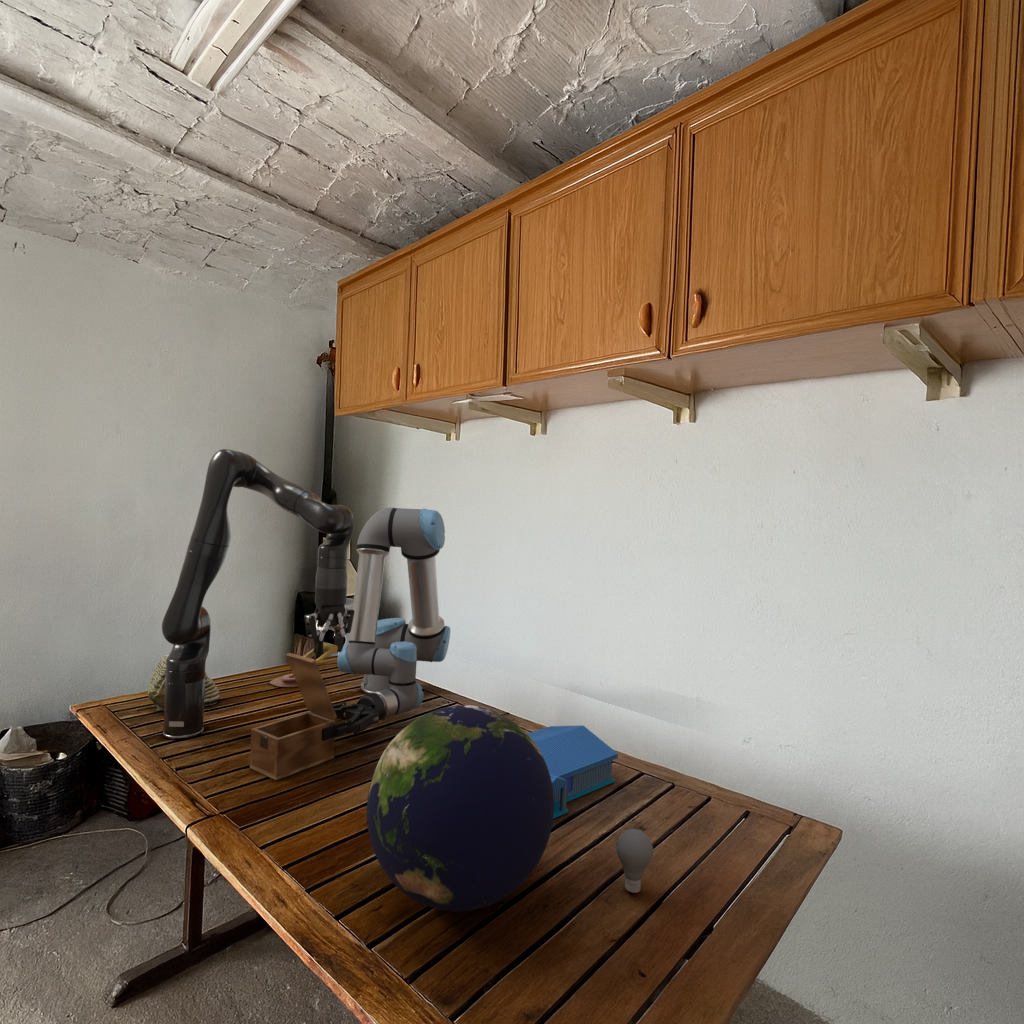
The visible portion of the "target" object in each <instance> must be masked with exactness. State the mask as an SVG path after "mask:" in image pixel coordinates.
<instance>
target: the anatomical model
mask: <svg viewBox="0 0 1024 1024" xmlns="http://www.w3.org/2000/svg"><path fill="white" fill-rule="evenodd" d="M269 684H270V685H272V686H275V687H279V688H295V687H296V688H298V685H297V683H296V680H295V678H294V675H293V672H292V673H289V674H285V675H282V676H279V677H277V678H274V679H272V680H269Z"/></svg>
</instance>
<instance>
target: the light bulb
mask: <svg viewBox="0 0 1024 1024" xmlns="http://www.w3.org/2000/svg"><path fill="white" fill-rule="evenodd" d="M615 849H616V854H617V857H618V859H619V861H620V863H621V865H622V867H623V873H624V874H623V875H624V876H625V878H624V888H625V890H627V891H628V892H630V893H634V894H635V893H639V892H640V891H641V889H642V887H641V886H642V879H643V877H644V875H645V871H646V868H647V867H648V866H649V864H650V863H651V861H652V859H653V855H654V847H653V843H652V841H651V838H649V836H648V835H647V834H646V833H645V832H643V831H642V830H641V829H636V828H629V829H627V830H625V831H623V832H622V833H621V834H620V835H619V837H618V839H617V841H616V847H615Z"/></svg>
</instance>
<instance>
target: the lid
mask: <svg viewBox="0 0 1024 1024" xmlns="http://www.w3.org/2000/svg"><path fill="white" fill-rule="evenodd" d="M337 650H338V647H337V646H336V645H334V643H329V642H325V641H323V655H322V656H318V657H317V658H316V659H314V658H310V657H311V656H312V655H313V654H315V653H314V648H312V649H311V650H310V651H308V652H307V653H306V654H304V655H300V654H297V653H296V654H295V653H291V652H287V653H286V654H285V657H286V660H287V662H288V665H289V668H290V670H291V672H292V673H293V675H294V678H295V680H296V683H297V685H298V686H297V688H298V690H299V692H300V695H301V698H302V700H303V703H304V705H305V708H306V710H307V712H313V713H316V714H319V715H322V716H325V717H328V718H330V719H332V720H334V721H335V720H337V719H336V718H337V716H336V713H335V710H334V708H333V705H334V704H333V703H332V700H331V698H330V695H329V692H328V690H327V687H326V685H325V682H324V680H323V677H322V674H321V671H320V668H319V666H318V664H319V663H320V662H322V661H323V660H324V659H326V658H327V657H329V656H330V655H331V654H336V653H338V652H337Z"/></svg>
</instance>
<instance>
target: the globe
mask: <svg viewBox="0 0 1024 1024" xmlns="http://www.w3.org/2000/svg"><path fill="white" fill-rule="evenodd" d="M527 733H528V732H526V731H525V730H524V729H523V728H522V727H521V726H520V725H518V723H516V722H514V721H513V720H512V719H510V718H508V717H507V716H505V715H503V714H501V713H499V712H497V711H494V710H493V709H489V708H485V707H482V706H477V705H469V704H468V705H467V704H465V705H452V706H446V707H442V708H438V709H435V710H432V711H429V712H428V713H425V714H423V715H422V716H419V717H417V718H416V719H415V720H413V721H411V722H409V724H407V725H406V726H405V727H404V728H402V729H401V731H399V733H398V734H396V736H395V737H394V738H393V739H392V740H391V741H390V742H389V743H388V745H387V747H385V749H384V751H382V754H381V755H380V758H379V760H378V762H377V763H376V766H375V769H374V771H373V774H372V777H371V780H370V783H369V787H368V788H369V789H368V794H367V801H366V822H367V832H368V836H369V840H370V844H371V847H372V851H373V853H374V855H375V857H376V859H377V861H378V864H379V865H380V867H381V869H382V870H383V872H384V873H385V875H386V876H387V877H388V878H389V880H390V881H391V883H393V884H394V885H395V886H396V887H397V888H398V890H400V891H401V892H402V893H404V894H405V895H406V896H408V897H409V898H410V899H412V900H413V901H415V902H417V903H419V904H421V905H424V906H426V907H428V908H429V907H430V908H431V909H436V910H439V911H445V912H455V913H456V912H471V911H475V910H479V909H483V908H486V907H489V906H491V905H494V904H496V903H499V902H500V901H502V900H503V899H505V898H506V897H508V896H509V895H511V894H512V893H514V892H515V891H516V890H517V889H518V888H519V887H520V886H522V885H523V884H524V882H526V880H527V879H528V878H529V877H530V875H532V873H533V871H534V870H535V869H536V867H537V866H538V864H539V863H540V860H541V859H542V857H543V855H544V853H545V850H546V848H547V846H548V843H549V841H550V837H551V833H552V827H553V823H554V819H553V816H554V794H553V786H552V782H551V777H550V774H549V770H548V767H547V765H546V763H545V760H544V757H543V755H542V753H541V752H540V750H539V748H538V747H537V745H536V744H535V742H534V741H533V740H532V739H531V737H530V736H529V735H528V734H527Z"/></svg>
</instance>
